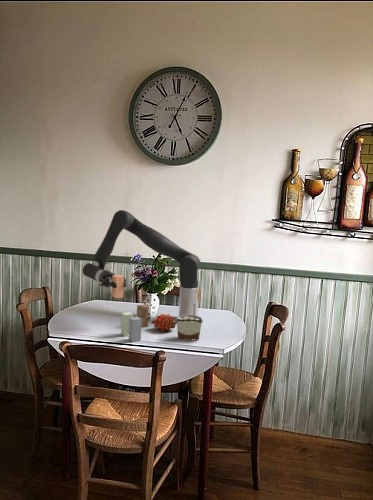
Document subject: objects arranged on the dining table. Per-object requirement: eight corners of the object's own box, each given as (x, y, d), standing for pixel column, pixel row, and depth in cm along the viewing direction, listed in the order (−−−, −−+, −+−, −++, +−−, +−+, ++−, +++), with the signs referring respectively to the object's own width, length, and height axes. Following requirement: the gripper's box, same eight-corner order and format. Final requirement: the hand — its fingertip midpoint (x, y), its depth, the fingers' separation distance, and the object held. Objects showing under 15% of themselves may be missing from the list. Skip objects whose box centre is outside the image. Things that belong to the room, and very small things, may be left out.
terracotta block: (119, 295, 219) (120, 274, 218) (123, 297, 216) (123, 276, 215) (111, 296, 217) (112, 275, 216) (115, 298, 214) (116, 277, 212)
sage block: (128, 332, 213) (129, 311, 212) (132, 335, 210) (133, 314, 208) (120, 334, 211) (121, 312, 209) (124, 336, 208) (125, 315, 206)
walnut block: (143, 324, 226) (144, 304, 225) (147, 326, 223) (148, 306, 221) (136, 325, 224) (137, 305, 223) (140, 327, 221) (141, 307, 219)
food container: (201, 335, 214) (202, 314, 212) (202, 340, 208) (203, 318, 206) (174, 334, 213) (175, 313, 212) (174, 339, 207) (175, 317, 206)
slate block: (136, 338, 207) (137, 316, 205) (140, 340, 203) (141, 319, 202) (128, 339, 204) (129, 317, 203) (132, 342, 201) (133, 320, 200)
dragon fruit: (178, 334, 218) (152, 336, 219) (177, 320, 224) (153, 322, 225) (175, 324, 212) (149, 326, 213) (175, 309, 218) (150, 311, 219)
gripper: (91, 271, 223) (106, 278, 209) (118, 269, 231) (134, 276, 217) (91, 286, 224) (106, 295, 210) (118, 284, 232) (134, 292, 218)
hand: (120, 285), depth 214 cm, fingers closed on terracotta block, 4 cm apart
